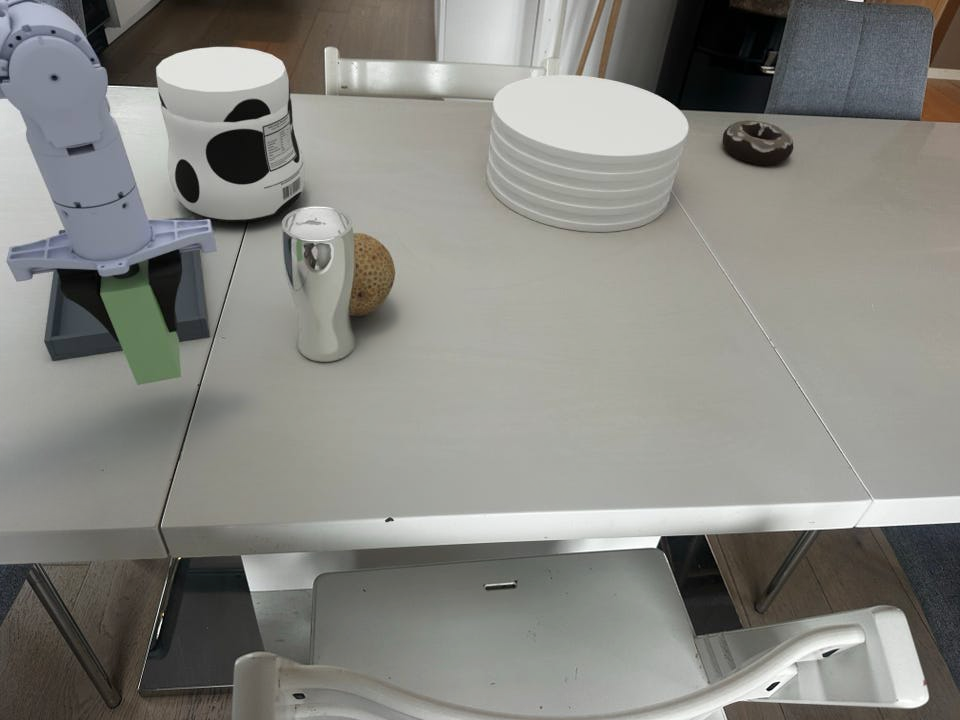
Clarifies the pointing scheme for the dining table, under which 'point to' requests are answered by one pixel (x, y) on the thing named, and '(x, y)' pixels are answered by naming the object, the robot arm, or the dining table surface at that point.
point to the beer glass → (321, 279)
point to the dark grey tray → (85, 335)
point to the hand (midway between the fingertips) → (146, 329)
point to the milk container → (230, 133)
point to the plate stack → (584, 152)
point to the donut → (757, 142)
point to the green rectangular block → (141, 325)
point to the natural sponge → (371, 275)
